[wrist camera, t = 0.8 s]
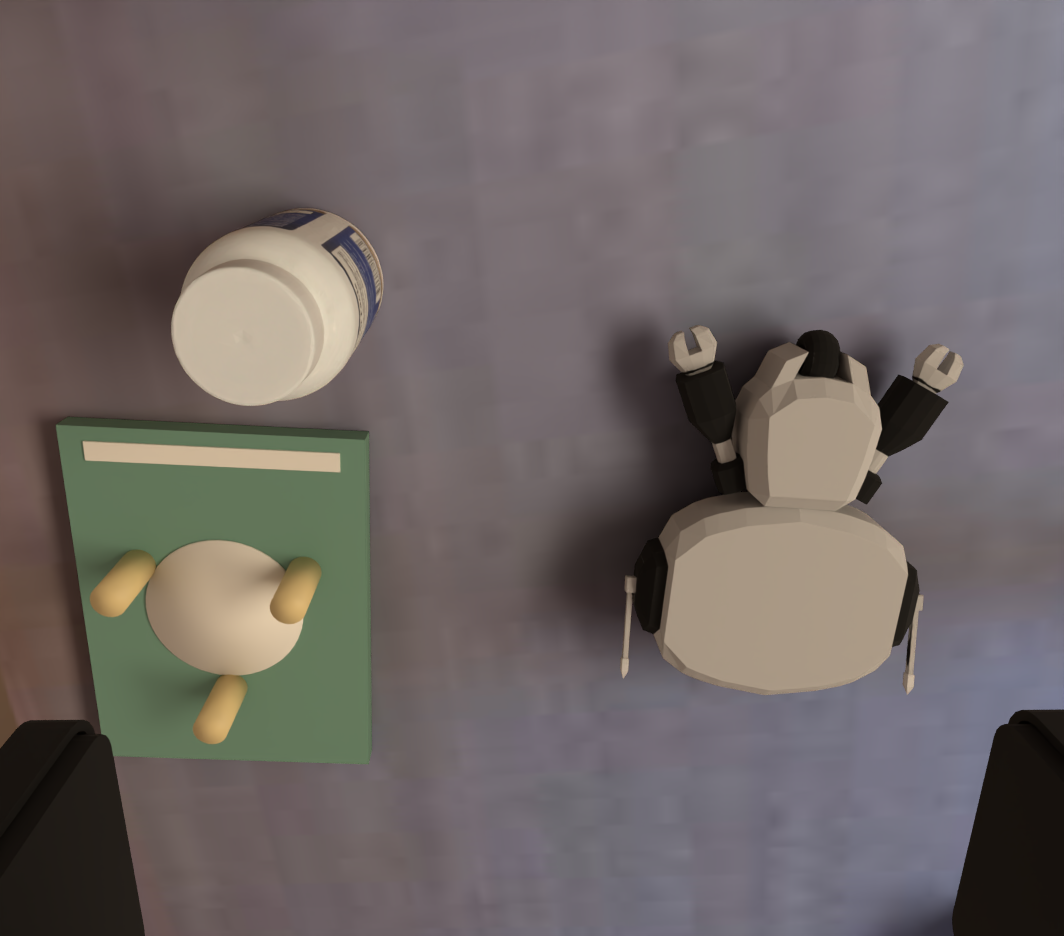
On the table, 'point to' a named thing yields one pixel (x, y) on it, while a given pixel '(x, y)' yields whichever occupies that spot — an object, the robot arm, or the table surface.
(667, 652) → the robot toy
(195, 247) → the table surface
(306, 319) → the pill bottle
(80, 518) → the board
